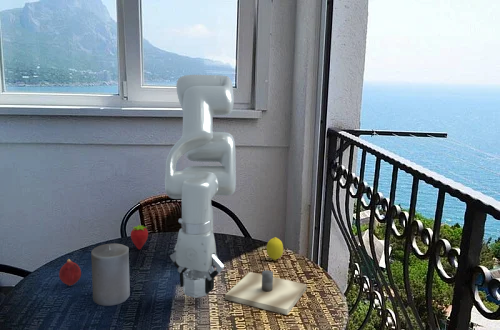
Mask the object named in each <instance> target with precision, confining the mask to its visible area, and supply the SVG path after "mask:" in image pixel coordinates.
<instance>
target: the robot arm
mask: <svg viewBox="0 0 500 330" xmlns="http://www.w3.org/2000/svg"><path fill="white" fill-rule="evenodd" d="M176 95H177V99H178V102H179V105H180V107H181V110H182V135H181V137H180V138H179V140H177V141H176V142H175V144H173V146H172V147H171V149H170V150H169V153H168V154H167V157H166V161H165V169H164V170H165V172H164V190H165V193H166V195H167V196H168V198H170V199H174V200H181V218H178V223H179V224H180V225H181V228H179V230H178V235H177V240H176V243H175V246H174V252H173V253H172V254H170V255H169V257H170V259H171V261H172V262H173V265H174V266H175V267H176V268H177V273H179V283H180V284H179V287H180V288H183V272H184V271H186V270H187V269H193V270H197V271H201V272H204V273H205V275H206V277H207V279H206V280H205V293H206V294H207V295H208V294H209V293H210V292H212V291H213V290H214V287H215V277H216V276H217V275H219V274H220V273H222V271H223V270H224V269H225V265H224V264H223V263H222V262H221V260H220V259H219V257H218V255H217V247H216V240H215V234H214V208H213V206H212V199H213V198H214V197H217V196H218V197H224V196H226V197H227V196H231V195H233V194H234V193H235V191H236V188H237V187H236V186H237V172H236V170H237V161H236V160H237V159H236V158H237V157H236V156H237V155H236V154H237V153H236V142H235V138H234V136H233V134H231V133H229V132H225V131H213V130H214V129H213V128H214V127H213V125H214V124H213V120H214V119H213V116H229V115H230V114H232V112H233V110H234V104H235V102H234V101H235V97H234V87H233V81H232V79H231V77H229V76H227V75H222V74H221V75H220V74H213V75H212V74H186V75H182V76H179V77H178V79H177V81H176ZM183 155H185V156H186V158H187V159H188V160H190V161H192V162H199V163H200V162H201V163H203V162H205V163H207V162H209V163H210V162H211V163H216V162H217V163H220V165H190V166H187V167H184V168H183V169H182V170H181V171H178V170H176V168H177V164H178V161H179V159H180V158H181V157H182V156H183ZM214 266H215V267H216V268H214ZM210 273H211V274H210Z"/></svg>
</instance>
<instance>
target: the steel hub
mask: <svg viewBox="0 0 500 330" xmlns="http://www.w3.org/2000/svg"><path fill="white" fill-rule="evenodd" d="M210 274H211V273H210ZM206 279H207V277H206V275H205V273H204V272H201V271H197V270H193V269H189V268H187V270H186V271H184V272H183V287H182V291H183V293H184V295H185V296H188V297H191V298H194V299H195V298H201V297H206V296H207V295H208V294H206V293H205V280H206Z"/></svg>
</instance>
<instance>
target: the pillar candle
mask: <svg viewBox="0 0 500 330" xmlns="http://www.w3.org/2000/svg"><path fill="white" fill-rule="evenodd" d="M129 248H130V247H128V246H126V245H124V244H121V243H106V244H101V245H97V246H96V247H94V248H92V250H91V252H90V253H91V254H90V255H91V281H92V283H91V284H92V301H93V302H94V303H95V304H97V305H98V306H99V305H100V306H105V307H107V306H108V307H109V306H115V305H116V306H117V305H120V304H123V303H125V302H126V300H127V299H129V297H130V295H131V292H130V291H131V288H130V287H131V286H130V263H129V262H130V259H129V257H130V256H129V255H130V253H129V251H130V250H129Z"/></svg>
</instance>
